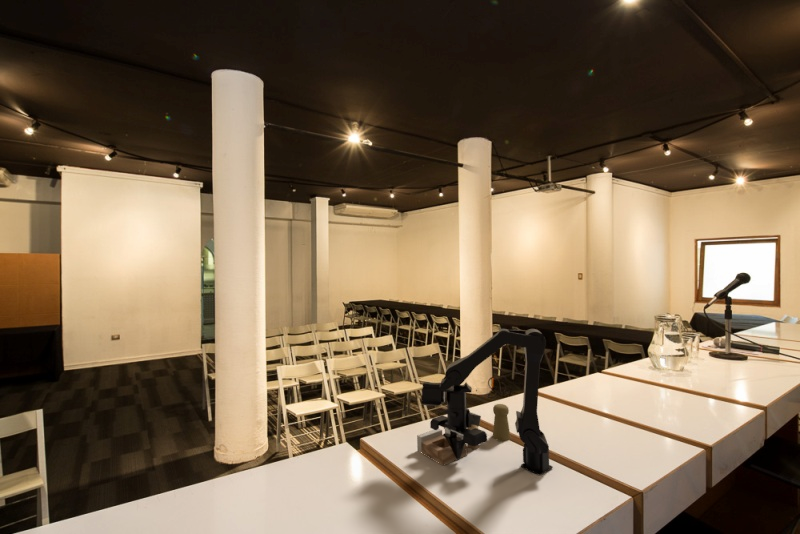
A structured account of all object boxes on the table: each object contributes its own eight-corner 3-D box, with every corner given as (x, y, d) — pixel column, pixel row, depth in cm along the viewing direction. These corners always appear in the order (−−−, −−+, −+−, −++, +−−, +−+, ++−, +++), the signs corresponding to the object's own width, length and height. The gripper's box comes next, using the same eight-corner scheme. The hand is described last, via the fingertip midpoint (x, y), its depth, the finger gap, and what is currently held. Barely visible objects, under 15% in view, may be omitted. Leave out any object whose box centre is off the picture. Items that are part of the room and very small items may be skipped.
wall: (442, 445, 129) (442, 430, 129) (421, 453, 124) (421, 437, 124) (438, 443, 131) (438, 428, 131) (417, 451, 125) (417, 435, 125)
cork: (506, 442, 130) (505, 409, 130) (489, 438, 134) (488, 405, 134) (513, 436, 135) (512, 404, 135) (496, 432, 139) (496, 400, 139)
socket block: (466, 455, 122) (466, 444, 122) (442, 465, 116) (442, 453, 116) (444, 444, 130) (444, 433, 130) (421, 453, 124) (421, 442, 124)
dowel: (481, 447, 127) (480, 422, 127) (473, 450, 125) (472, 425, 125) (472, 443, 130) (472, 419, 130) (465, 446, 128) (464, 421, 128)
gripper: (498, 407, 115) (500, 461, 115) (453, 394, 130) (455, 441, 130) (472, 416, 109) (474, 473, 108) (428, 401, 123) (430, 451, 123)
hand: (458, 458), depth 117 cm, fingers closed
